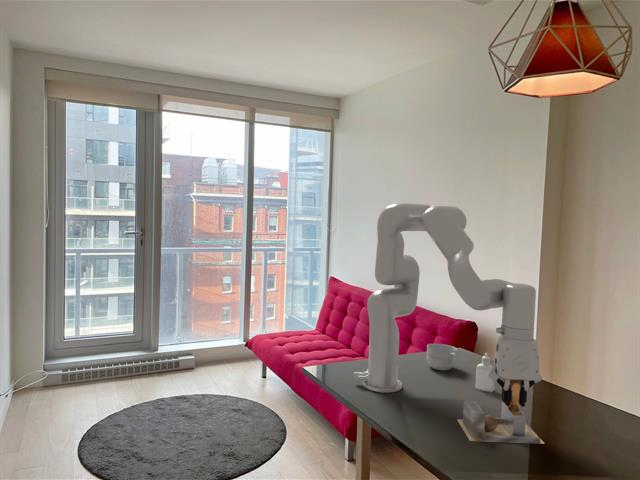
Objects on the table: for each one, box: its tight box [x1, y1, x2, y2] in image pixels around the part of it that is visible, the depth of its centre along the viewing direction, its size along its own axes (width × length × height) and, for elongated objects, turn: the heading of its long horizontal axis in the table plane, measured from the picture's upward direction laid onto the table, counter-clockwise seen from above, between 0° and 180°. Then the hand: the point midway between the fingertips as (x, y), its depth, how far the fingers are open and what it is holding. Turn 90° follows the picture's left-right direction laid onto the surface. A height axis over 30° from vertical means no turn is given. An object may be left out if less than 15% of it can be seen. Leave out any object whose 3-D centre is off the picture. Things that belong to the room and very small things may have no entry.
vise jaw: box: [500, 380, 527, 437], centre depth 122 cm, size 3×8×14 cm, turn 179°
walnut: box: [484, 414, 498, 431], centre depth 123 cm, size 4×4×4 cm
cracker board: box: [456, 400, 545, 445], centre depth 122 cm, size 18×12×8 cm, turn 89°
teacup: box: [426, 343, 459, 371], centre depth 174 cm, size 14×11×8 cm
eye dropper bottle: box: [475, 352, 495, 393], centre depth 155 cm, size 4×6×12 cm
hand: (513, 403), depth 122 cm, fingers closed on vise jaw, 3 cm apart
